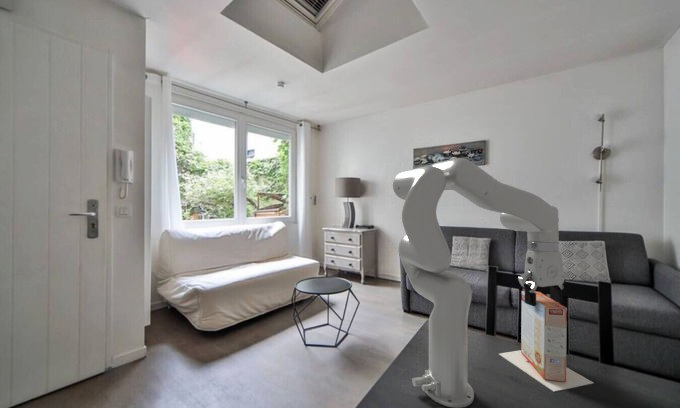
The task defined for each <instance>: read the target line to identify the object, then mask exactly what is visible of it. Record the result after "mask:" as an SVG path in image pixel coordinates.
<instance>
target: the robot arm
mask: <svg viewBox="0 0 680 408" xmlns="http://www.w3.org/2000/svg"><path fill="white" fill-rule="evenodd" d="M392 189H393V192H394V193H395V195H396V196H397V197H398V198H399V199H401V200H403V201H404V204H403V207H402V211H401V220H402V221H401V222H402V225H403V228H404V231H405V234H404V235H403V236H402V237H401V239H400V241H399V244H398V256H399V259H400V261H401V264H402V266H403V269H404V272H405V273H406V275H407V278H408V279H409V282H410V284H411V286H412V288H413V289H414V291H415V292H417V294H419V295H420V296H421V297H423V298H425V299H427V300H428V301H430V302H432V303H433V308H432V310H431V313H430V314H429V318H428V369H425V370H424V374H422V376H418V377H412V378H411V383H412V385H413V387H420V386H421V387H420V388H421V389H422V391H423V392H425V394H426V395H427V396H428V397H429V398H430V399H431V400H432V401H434V402H436V403H437V404H439V405H443V406H445V407H448V408H466V407H468V406H470V405H471V404H472V403H473V402H474V399H475V391H474V389H473V388H472V386H471V384H470V383H469V382H468V320H469V319H468V318H469V311H470V308H471V307H470V306H471V303H472V296H473V293H472V288H471V285H470V284H469V282H468V281H467V279H466V278H464V277H463V276H461V275H459V274H457V273H455V272H453V271H450V270H448V269H449V268H450V266H451V263H452V254H451V250H450V248H449V245H448V243H447V240H446V238H445V235H444V233H443V231H442V229H441V227H440V223H439V220H438V217H437V208H438V205H439V201H440V199H441V197H442V196H443V194H444V191H454V192H456V193H458V194H459V195H461V196H462V197H463V198H465V199H467V200H468V201H470V202H471V203H472V204H474V205H476V206H477V207H479V208H480V209H483V210H487V211H491V212H495V213H500V215H499V221H500V223H501V225H502V226H503V227H504V228H506V229H508V230H511V231H516V232H527V233H526V234H527V237H526V238H527V244H526V247H527V250H526V253H525V260H524V273H522V274H521V275H520V276H518V277H517V280H518V282H519V285H520V287H521V288H522V291H525V303H526V304H529V305H531V306H536V293H534V291H535V292H536V290H537V288H538V287H540V288H546V287H547V288H548V287H549V298H551V299H553V300H554V301H556V302H558V303H559V304H561V303H563V290H564V288H565V287H564V285H565V283H566V279H567V276H568V273H567V272H565V270H564V262H563V258H562V254H561V251H560V249H559V247H560V246H559V243H560V242H559V238H560V237H559V223H560V221H559V210H558V207H556V206H553V205H551V204H549V203H548V202H547V201H546V200H545V199H543V198H541V197H540V196H538V195H536V194H533V193H531V192H530V191H526V190H523V189H522V188H521V189H520V188H517V187H515V186H512V185H509V184H505V183H502V182H500V181H499V180H497V179H496V178H494V177H493V176H492V175H491V174H489V173H488V172H486V171H485V170H484V169H483V168H481V167H480V166H478V165H476V164H475V163H474V162H472V161H471V160H469V159H467V158H463V157H456V158H451V159H447V160H443V161H438V162H435V163H431V164H428V165H424V166H421V167H416V168H413V169H412V168H411V169H407V170H403V171H400V172H399V173H398V174H396V176H395V177H394V180H393V181H392Z"/></svg>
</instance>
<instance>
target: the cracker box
mask: <svg viewBox="0 0 680 408" xmlns="http://www.w3.org/2000/svg"><path fill="white" fill-rule="evenodd" d="M534 293H536V306H531V305H529V304H526V303H525V290H521V322H520V324H521V325H520V327H521V329H520V330H521V332H520V335H521V336H520V337H521V339H520V342H521V343H520V349H521V353H522V354H523V356H524V357H525V358H526V359H527V360H528V361H529V363H530V364H531V365H532V366H533V367H534V368H535V370H536V371H537V372H538V373H539V374H540V375H541V377H542V378H543V379H546V380H554V381H562V382H566V367H567V335H568V334H567V325H568V324H567V323H568V322H567V319H568V318H567V317H568V312H567V311H568V308H567V307H566V306H564V305H563V304H561V303H559V302H556V301H554V300H553V299H551V298H550V296H548V295H546V294H544V293H542V292H541V291H536V290H535V291H534Z"/></svg>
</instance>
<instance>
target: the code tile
mask: <svg viewBox="0 0 680 408" xmlns="http://www.w3.org/2000/svg"><path fill="white" fill-rule="evenodd" d="M498 355H499V356H501V357H502V358H503V359H505V360H506V361H508V362H509V363H511V364H512V365H513V366H515V367H516V368H518V369H519V370H521V371H522V372H524V373H525V374H527V375H528V376H529V377H531V378H532V379H534V380H536V381H537V382H538V383H540V384H542V385H543V386H545V387H546V388H547V389H549V390H550V391H552V392H560V391H564V390H569V389H575V388H578V387H583V386H588V385H592V384H594V382H593V381H592V380H590V379H588V378H586V377H585V376H583V375H581V374H579V373H577V372H575V371H574V370H572V369H570V368H569V367H567V366H566V382H562V381H554V380H546V379H543V378H542V377H541V375H540V374H539V373H538V372H537V371H536V370H535V368H534V367H533V366H532V365H531V364H530V363H529V361H528V360H527V359H526V358H525V357H524V356H523V354H522V353H521V350H520V349H518V350H514V351H508V352H501V353H498Z"/></svg>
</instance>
